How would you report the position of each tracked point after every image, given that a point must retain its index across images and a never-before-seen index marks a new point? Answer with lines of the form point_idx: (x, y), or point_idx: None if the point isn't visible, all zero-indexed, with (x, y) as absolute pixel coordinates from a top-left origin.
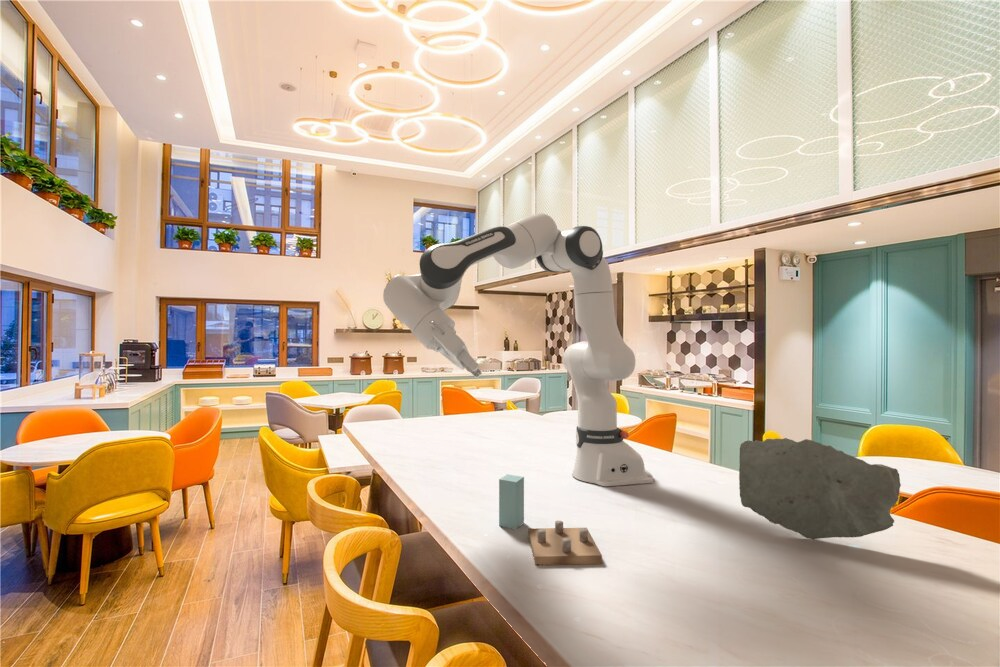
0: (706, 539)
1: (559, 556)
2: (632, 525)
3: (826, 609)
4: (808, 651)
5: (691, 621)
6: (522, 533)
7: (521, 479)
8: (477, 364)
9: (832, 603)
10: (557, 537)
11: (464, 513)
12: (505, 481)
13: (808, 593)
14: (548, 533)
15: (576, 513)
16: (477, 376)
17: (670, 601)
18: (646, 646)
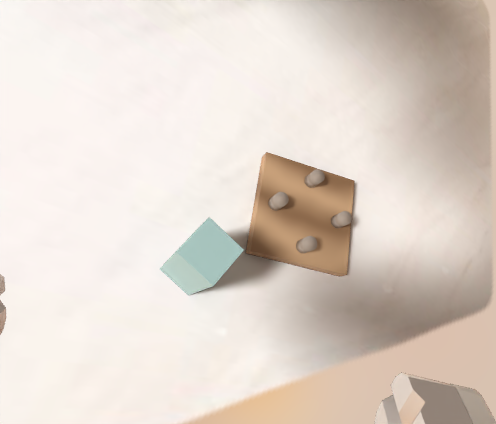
0: (306, 17)
1: (349, 239)
2: (243, 70)
3: (441, 44)
4: (484, 109)
5: (452, 164)
6: None
7: (220, 228)
8: (480, 402)
9: (434, 31)
10: (292, 215)
11: (91, 363)
12: (224, 272)
13: (420, 33)
14: (276, 223)
15: (168, 124)
16: (3, 321)
17: (424, 160)
18: (480, 226)
